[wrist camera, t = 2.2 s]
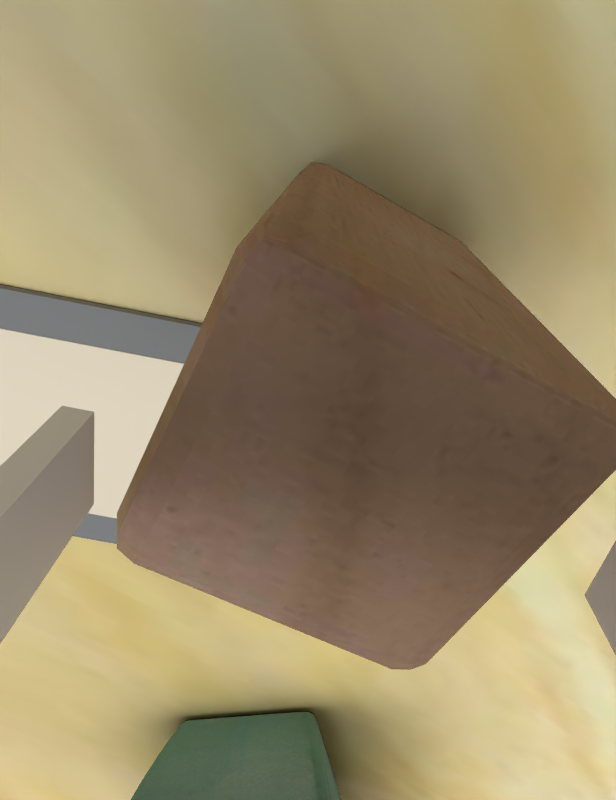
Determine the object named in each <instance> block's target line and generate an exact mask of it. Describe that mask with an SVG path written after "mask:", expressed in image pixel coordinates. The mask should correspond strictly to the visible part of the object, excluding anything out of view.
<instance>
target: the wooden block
mask: <svg viewBox="0 0 616 800" xmlns="http://www.w3.org/2000/svg"><path fill="white" fill-rule="evenodd" d="M615 470H616V399H615V398H614V397H613V396H612V395H611V394H610V393H609V392H608V391H607V390H606V389H605V388H604V386H603V385H602V384H601V383H600V382H599V381H598V380H597V379H596V378H595V377H594V376H593V375H592V374H591V373H590V372H589V371H588V370H587V369H586V368H585V367H584V366H583V365H582V364H581V363H580V362H579V361H578V360H577V359H576V358H575V357H574V356H573V355H572V354H571V353H570V352H569V351H568V350H567V349H566V348H565V347H564V346H563V345H562V344H561V343H560V342H559V341H558V340H557V339H556V338H555V337H554V336H553V335H552V334H551V333H550V332H549V331H548V330H547V328H546V327H545V326H544V325H543V324H542V323H541V322H540V321H539V320H538V319H537V318H536V317H535V316H534V315H533V314H532V313H531V312H530V311H529V310H528V309H527V308H526V307H525V306H524V305H523V304H522V303H521V302H520V301H519V300H518V299H517V298H516V297H515V296H514V295H513V294H512V293H511V292H510V291H509V290H508V289H507V288H506V287H505V286H504V285H503V284H502V283H501V282H500V281H499V280H498V279H497V278H496V277H495V276H494V275H493V274H492V273H491V272H490V270H489V269H488V268H487V267H486V266H485V265H484V264H483V263H482V262H481V261H480V260H479V259H478V258H477V257H476V256H475V255H474V254H473V253H472V252H471V251H470V250H469V249H468V248H467V247H466V246H465V245H464V244H463V243H462V242H461V241H459V240H457V239H455V238H454V237H452V236H450V235H448V234H447V233H445V232H443V231H441V230H440V229H438V228H436V227H435V226H433V225H431V224H429V223H428V222H426V221H424V220H422V219H421V218H419V217H417V216H415V215H414V214H412V213H410V212H409V211H407V210H405V209H403V208H402V207H400V206H398V205H396V204H395V203H393V202H391V201H389V200H388V199H386V198H384V197H383V196H381V195H379V194H377V193H376V192H374V191H372V190H370V189H369V188H367V187H365V186H363V185H362V184H360V183H358V182H356V181H355V180H353V179H351V178H350V177H348V176H346V175H344V174H343V173H341V172H339V171H337V170H336V169H334V168H332V167H330V166H329V165H327V164H319V163H310V164H309V165H308V166H307V167H306V168H305V169H304V170H303V171H302V172H300V173H299V175H298V176H297V177H296V178H295V179H294V180H293V182H292V183H291V184H290V185H289V186H288V188H287V189H286V190H285V191H284V192H283V193H282V195H281V196H280V197H279V198H278V199H277V201H276V202H275V203H274V204H273V205H272V206H271V208H270V209H269V210H268V211H267V212H266V213H265V215H264V216H263V217H262V218H261V219H260V221H259V222H258V223H257V224H256V225H255V226H254V228H253V229H252V230H251V231H250V232H249V234H248V235H247V236H246V237H245V238H244V239H243V241H242V242H241V243H240V244H239V245H238V246H237V248H236V250H235V253H234V255H233V257H232V259H231V261H230V264H229V266H228V268H227V270H226V273H225V275H224V277H223V279H222V281H221V284H220V286H219V288H218V290H217V292H216V295H215V297H214V299H213V301H212V304H211V306H210V308H209V310H208V312H207V315H206V317H205V319H204V321H203V323H202V326H201V328H200V330H199V332H198V335H197V337H196V339H195V341H194V343H193V346H192V348H191V350H190V352H189V354H188V357H187V359H186V361H185V363H184V365H183V368H182V370H181V372H180V374H179V377H178V379H177V381H176V383H175V385H174V388H173V390H172V392H171V394H170V396H169V399H168V401H167V403H166V405H165V408H164V410H163V412H162V414H161V416H160V419H159V421H158V423H157V425H156V427H155V430H154V432H153V434H152V436H151V439H150V441H149V443H148V445H147V447H146V450H145V452H144V454H143V456H142V458H141V461H140V463H139V465H138V467H137V470H136V472H135V474H134V476H133V478H132V481H131V483H130V485H129V487H128V489H127V492H126V494H125V496H124V498H123V501H122V503H121V505H120V507H119V509H118V512H117V549H118V550H119V551H121V552H122V553H123V554H124V555H125V556H126V557H127V558H129V559H130V560H131V561H132V562H133V563H134V564H137V565H139V566H142V567H144V568H147V569H149V570H151V571H154V572H156V573H159V574H161V575H164V576H166V577H168V578H171V579H173V580H176V581H178V582H181V583H183V584H186V585H188V586H190V587H193V588H195V589H198V590H200V591H203V592H205V593H207V594H210V595H212V596H215V597H217V598H220V599H222V600H225V601H227V602H229V603H232V604H234V605H237V606H239V607H242V608H244V609H246V610H249V611H251V612H254V613H256V614H259V615H261V616H264V617H266V618H268V619H271V620H273V621H276V622H278V623H281V624H283V625H286V626H288V627H290V628H293V629H295V630H298V631H300V632H303V633H305V634H307V635H310V636H312V637H315V638H317V639H320V640H322V641H325V642H327V643H329V644H332V645H334V646H337V647H339V648H342V649H344V650H346V651H349V652H351V653H354V654H356V655H359V656H361V657H364V658H366V659H368V660H371V661H373V662H376V663H378V664H381V665H383V666H385V667H388V668H390V669H410V670H411V669H413V668H416V667H419V666H421V665H424V664H426V663H427V662H428V661H429V660H430V659H431V658H432V657H433V656H434V655H435V654H436V653H437V652H438V651H439V650H440V649H441V648H442V647H443V646H444V645H445V644H446V643H447V642H448V641H449V640H450V639H451V638H452V637H453V636H454V635H455V633H456V632H457V631H458V630H459V629H460V628H461V627H462V626H463V625H464V624H465V623H466V622H467V621H468V620H469V619H470V618H471V617H472V616H473V615H474V614H475V613H476V612H477V611H478V610H479V609H480V608H481V607H482V606H483V605H484V604H485V603H486V602H487V601H488V600H489V599H490V598H491V597H492V596H493V595H494V594H495V593H496V592H497V591H498V590H499V588H500V587H501V586H502V585H503V584H504V583H505V582H506V581H507V580H508V579H509V578H510V577H511V576H512V575H513V574H514V573H515V572H516V571H517V570H518V569H519V568H520V567H521V566H522V565H523V564H524V563H525V562H526V561H527V560H528V559H529V558H530V557H531V556H532V555H533V554H534V553H535V552H536V551H537V550H538V549H539V548H540V547H541V546H542V545H543V543H544V542H545V541H546V540H547V539H548V538H549V537H550V536H551V535H552V534H553V533H554V532H555V531H556V530H557V529H558V528H559V527H560V526H561V525H562V524H563V523H564V522H565V521H566V520H567V519H568V518H569V517H570V516H571V515H572V514H573V513H574V512H575V511H576V510H577V509H578V508H579V507H580V506H581V505H582V504H583V503H584V502H585V501H586V500H587V498H588V497H589V496H590V495H591V494H592V493H593V492H594V491H595V490H596V489H597V488H598V487H599V486H600V485H601V484H602V483H603V482H604V481H605V480H606V479H607V478H608V477H609V476H610V475H611V474H612V473H613V472H614V471H615Z"/></svg>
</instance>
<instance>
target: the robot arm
mask: <svg viewBox="0 0 616 800" xmlns="http://www.w3.org/2000/svg"><path fill="white" fill-rule="evenodd" d="M93 505H94V412H93V411H88V410H82V409H77V408H72V407H67V406H61V407H60V408H59V409H58V410H57V411H56V412H55V413H54V414H53V415H52V416H51V417H50V418H49V419H48V420H47V421H46V422H45V423H44V424H43V425H42V426H41V427H40V428H39V429H38V430H37V431H36V432H35V433H34V434H33V435H32V436H30V437H29V438H28V439H27V440H26V441H25V442H24V443H23V444H22V445H21V446H20V447H19V448H18V449H17V450H16V451H15V452H14V453H13V454H12V455H11V456H10V457H9V458H8V459H7V460H6V461H5V462H4V463H3V464H2V465H1V466H0V643H1V642H2V640H3V639H4V637H5V636H6V634H7V633H8V631H9V630H10V628H11V627H12V625H13V624H14V622H15V621H16V620H17V618H18V617H19V615H20V614H21V612H22V611H23V609H24V608H25V606H26V605H27V603H28V602H29V600H30V599H31V597H32V596H33V594H34V593H35V591H36V590H37V588H38V587H39V585H40V584H41V582H42V581H43V579H44V578H45V576H46V575H47V573H48V572H49V570H50V569H51V567H52V566H53V564H54V563H55V561H56V560H57V558H58V557H59V555H60V554H61V552H62V551H63V549H64V548H65V546H66V545H67V543H68V542H69V540H70V539H71V537H72V536H73V534H74V533H75V531H76V530H77V528H78V527H79V525H80V524H81V522H82V521H83V519H84V518H85V516H86V515H87V514H88V512H89V511H90V509H91V508H92V506H93ZM585 597H586V599H587V601H588V603H589V605H590V606H591V608H592V610H593V612H594V614H595V616H596V618H597V620H598V622H599V624H600V626H601V628H602V630H603V632H604V634H605V636H606V637H607V639H608V641H609V643H610V645H611V647H612V649H613V651H614V653H615V655H616V541H615V543H614V545H613V546H612V548H611V550H610V552H609V553H608V555H607V557H606V559H605V560H604V562H603V564H602V566H601V567H600V569H599V571H598V573H597V574H596V576H595V578H594V579H593V581H592V583H591V585H590V586H589V588H588V590H587V592H586V593H585Z"/></svg>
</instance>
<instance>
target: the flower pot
mask: <svg viewBox="0 0 616 800" xmlns="http://www.w3.org/2000/svg"><path fill="white" fill-rule="evenodd" d="M131 800H341V798H340V795H339V791H338V788H337V784H336V781H335V778H334V775H333V771H332V768H331V765H330V762H329V759H328V756H327V752H326V749H325V746H324V743H323V740H322V736H321V733H320V730H319V727H318V724H317V721H316V718H315V716H314V715H313V714H311V713H310V712H294V713H279V714H265V715H253V716H240V717H227V718H214V719H201V720H190V721H185V722H183V723H182V724H181V725H180V727H179V728H178V729H177V731H176V732H175V733H174V734H173V736H172V737H171V738H170V740H169V741H168V743H167V744H166V746H165V747H164V748H163V750H162V751H161V753H160V754H159V755H158V757H157V758H156V760H155V761H154V763H153V765H152V766H151V768H150V769H149V771H148V772H147V774H146V775H145V777H144V779H143V780H142V782H141V783H140V785H139V787H138V789H137V790H136V792H135V794H134V795H133V797H132V799H131Z"/></svg>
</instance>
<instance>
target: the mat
mask: <svg viewBox="0 0 616 800" xmlns="http://www.w3.org/2000/svg"><path fill="white" fill-rule="evenodd" d="M201 326H202V324H201V323H196V322H191V321H186V320H181V319H176V318H171V317H165V316H160V315H155V314H150V313H145V312H140V311H135V310H129V309H124V308H119V307H114V306H109V305H104V304H98V303H93V302H88V301H83V300H78V299H73V298H68V297H62V296H57V295H52V294H47V293H42V292H37V291H32V290H26V289H21V288H16V287H11V286H6V285H1V284H0V466H1V465H2V464H3V463H4V462H5V461H6V460H7V459H8V458H9V457H10V456H11V455H12V454H13V453H14V452H15V451H16V450H17V449H18V448H19V447H20V446H21V445H22V444H23V443H24V442H25V441H26V440H27V439H28V438H29V437H30V436H32V435H33V434H34V433H35V432H36V431H37V430H38V429H39V428H40V427H41V426H42V425H43V424H44V423H45V422H46V421H47V420H48V419H49V418H50V417H51V416H52V415H53V414H54V413H55V412H56V411H57V410H58V409H59V408H60V407H61V406H67V407H72V408H77V409H82V410H88V411H93V412H94V505H93V506H92V508H91V509H90V511H89V512H88V514H87V515H86V516H85V518H84V519H83V521H82V522H81V524H80V525H79V527H78V528H77V530H76V531H75V533H74V534H73V536H76V537H81V538H87V539H92V540H98V541H104V542H109V543H115V544H117V512H118V509H119V507H120V505H121V503H122V501H123V498H124V496H125V494H126V492H127V489H128V487H129V485H130V483H131V481H132V478H133V476H134V474H135V472H136V470H137V467H138V465H139V463H140V461H141V458H142V456H143V454H144V452H145V450H146V447H147V445H148V443H149V441H150V439H151V436H152V434H153V432H154V430H155V427H156V425H157V423H158V421H159V419H160V416H161V414H162V412H163V410H164V408H165V405H166V403H167V401H168V399H169V396H170V394H171V392H172V390H173V388H174V385H175V383H176V381H177V379H178V377H179V374H180V372H181V370H182V368H183V365H184V363H185V361H186V359H187V357H188V354H189V352H190V350H191V348H192V346H193V343H194V341H195V339H196V337H197V335H198V332H199V330H200V328H201Z"/></svg>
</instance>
